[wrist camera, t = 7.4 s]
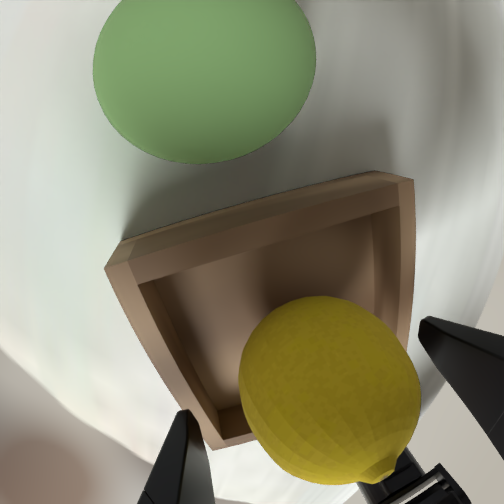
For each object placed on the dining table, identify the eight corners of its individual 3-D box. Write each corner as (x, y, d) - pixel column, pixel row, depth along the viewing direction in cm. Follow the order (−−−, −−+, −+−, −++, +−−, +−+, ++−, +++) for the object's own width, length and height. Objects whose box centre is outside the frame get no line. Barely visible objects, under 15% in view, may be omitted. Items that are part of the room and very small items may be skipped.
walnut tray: (379, 352, 15) (401, 378, 13) (206, 415, 14) (212, 450, 12) (374, 170, 11) (413, 179, 9) (120, 241, 10) (103, 268, 8)
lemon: (356, 325, 13) (459, 439, 6) (261, 386, 13) (320, 527, 6) (314, 235, 11) (479, 361, 4) (194, 312, 11) (232, 514, 4)
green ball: (291, 139, 10) (387, 141, 5) (140, 179, 9) (93, 218, 4) (257, 7, 8) (316, -76, 3) (107, 41, 7) (51, -33, 2)
